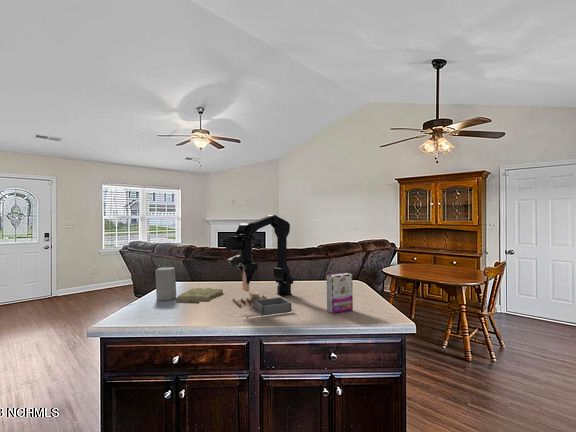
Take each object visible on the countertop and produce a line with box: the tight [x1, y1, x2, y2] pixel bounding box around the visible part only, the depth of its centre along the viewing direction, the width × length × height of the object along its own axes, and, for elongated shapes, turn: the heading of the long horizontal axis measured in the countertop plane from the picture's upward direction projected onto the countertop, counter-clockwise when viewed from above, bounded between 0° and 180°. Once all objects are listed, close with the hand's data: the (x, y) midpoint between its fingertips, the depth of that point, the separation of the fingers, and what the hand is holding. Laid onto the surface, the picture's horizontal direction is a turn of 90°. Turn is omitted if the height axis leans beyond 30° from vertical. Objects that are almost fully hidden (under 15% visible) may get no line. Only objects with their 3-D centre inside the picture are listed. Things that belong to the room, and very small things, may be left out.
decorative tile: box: [175, 287, 224, 303], centre depth 168 cm, size 19×20×4 cm
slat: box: [242, 271, 250, 293], centre depth 154 cm, size 1×6×10 cm, turn 25°
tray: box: [253, 296, 292, 316], centre depth 145 cm, size 14×12×4 cm
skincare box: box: [155, 266, 177, 301], centre depth 165 cm, size 8×7×16 cm
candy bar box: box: [326, 272, 354, 315], centre depth 144 cm, size 11×5×16 cm, turn 117°
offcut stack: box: [248, 291, 262, 304], centre depth 156 cm, size 4×5×4 cm
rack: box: [232, 295, 269, 308], centre depth 156 cm, size 16×12×2 cm
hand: (245, 282), depth 154 cm, fingers closed on slat, 6 cm apart
